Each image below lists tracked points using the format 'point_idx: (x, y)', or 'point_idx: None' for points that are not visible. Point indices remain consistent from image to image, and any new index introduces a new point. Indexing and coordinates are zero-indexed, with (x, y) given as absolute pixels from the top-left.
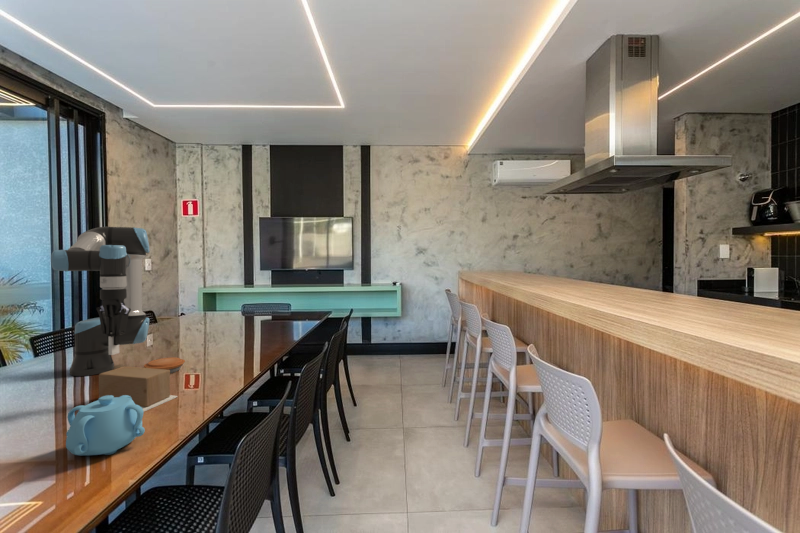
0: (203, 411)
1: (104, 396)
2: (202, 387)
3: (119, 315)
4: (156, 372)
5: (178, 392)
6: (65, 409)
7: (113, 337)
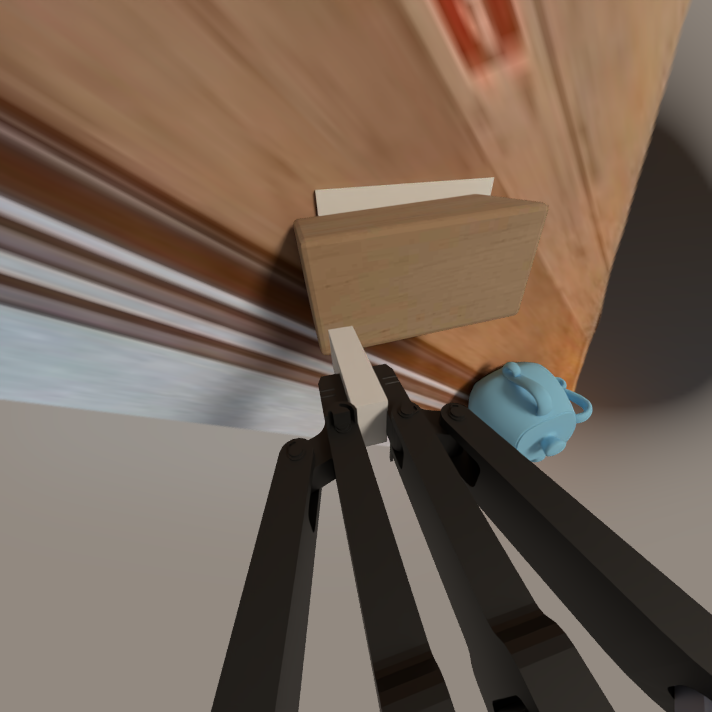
0: (598, 238)
1: (553, 451)
2: (535, 24)
3: (611, 653)
4: (517, 259)
5: (470, 132)
6: (277, 360)
7: (384, 426)
